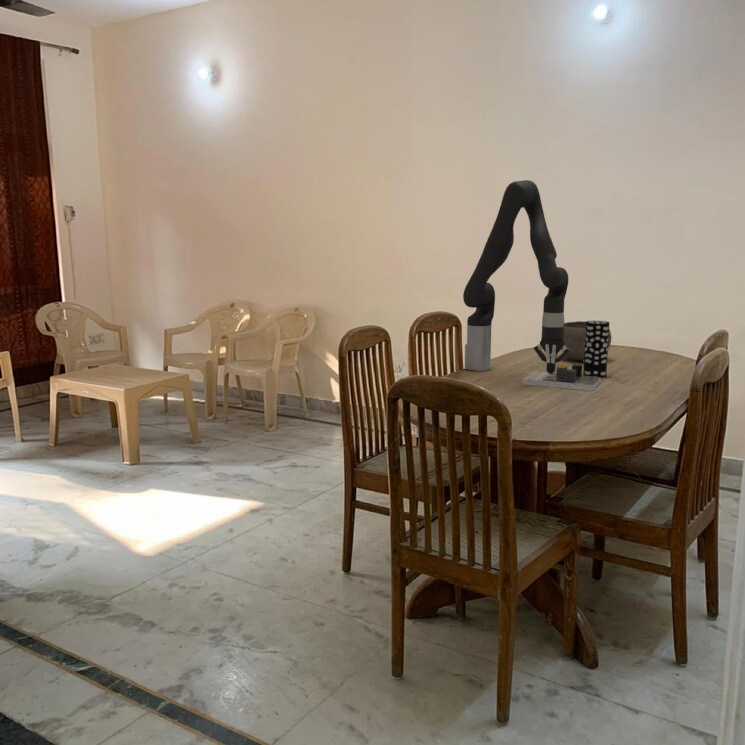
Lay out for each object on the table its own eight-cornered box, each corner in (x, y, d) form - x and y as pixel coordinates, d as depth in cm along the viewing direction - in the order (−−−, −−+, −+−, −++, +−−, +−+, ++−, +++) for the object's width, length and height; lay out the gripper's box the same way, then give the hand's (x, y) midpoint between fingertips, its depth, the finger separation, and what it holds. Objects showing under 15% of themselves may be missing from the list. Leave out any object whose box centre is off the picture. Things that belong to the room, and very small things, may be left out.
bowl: (550, 361, 311) (551, 324, 308) (566, 353, 329) (568, 318, 325) (601, 366, 301) (604, 328, 297) (615, 357, 318) (618, 322, 315)
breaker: (556, 377, 270) (556, 365, 270) (558, 375, 273) (558, 364, 272) (564, 377, 269) (565, 366, 268) (566, 376, 272) (567, 365, 271)
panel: (523, 384, 271) (523, 367, 269) (533, 376, 283) (534, 360, 282) (592, 390, 260) (593, 373, 259) (600, 382, 273) (601, 365, 271)
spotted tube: (607, 378, 279) (610, 324, 275) (583, 377, 281) (586, 323, 277) (605, 373, 287) (608, 320, 283) (582, 373, 289) (585, 320, 285)
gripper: (531, 325, 269) (529, 373, 272) (569, 327, 263) (567, 376, 266) (537, 322, 275) (535, 369, 279) (574, 324, 269) (571, 372, 273)
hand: (550, 373), depth 273 cm, fingers closed
